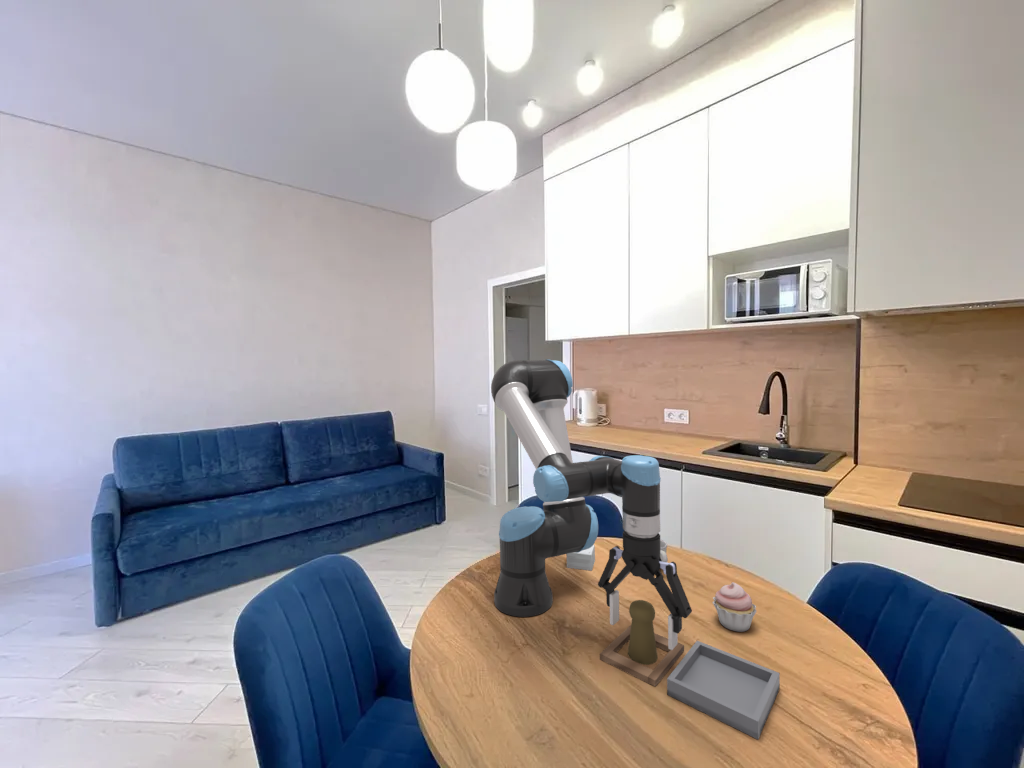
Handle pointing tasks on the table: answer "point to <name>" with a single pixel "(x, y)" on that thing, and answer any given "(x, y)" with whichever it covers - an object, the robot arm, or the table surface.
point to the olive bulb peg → (642, 633)
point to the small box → (582, 559)
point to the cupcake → (734, 607)
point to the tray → (725, 687)
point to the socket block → (636, 668)
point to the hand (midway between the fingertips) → (642, 633)
